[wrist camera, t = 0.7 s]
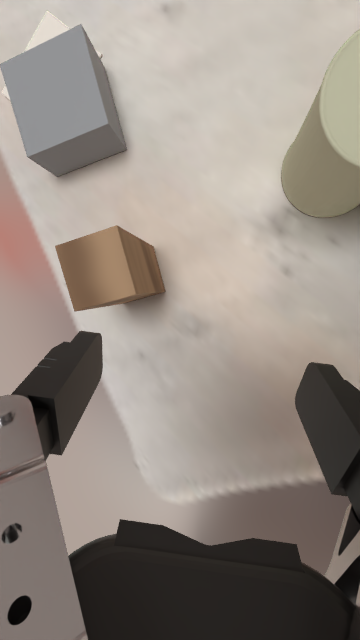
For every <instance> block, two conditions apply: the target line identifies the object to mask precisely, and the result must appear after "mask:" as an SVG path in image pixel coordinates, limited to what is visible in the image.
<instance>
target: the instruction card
mask: <svg viewBox="0 0 360 640" xmlns="http://www.w3.org/2000/svg"><path fill="white" fill-rule="evenodd" d="M68 30H70V28H69V27H67V26H66V25H65V24H64V23H62V22H61V21H60V20H59V19H57V18H56V17H55V16H54V15H53V14H51V13H50V12H49V11H48V10H47V11H46V13H45V15H44V16H43V18H42V20H41V22H40V24H39V26H38V27H37V29H36V31H35V33H34V35H33V36H32V38H31V40H30V42H29V44H28V45H27V47H26V49H25V51H24V52H26V51H28V50H30V49H32V48H34V47H36V46H38V45H40V44H42V43H44V42H46V41H48V40H50V39H52V38H54V37H56V36H58V35H60V34H62V33H64V32H66V31H68ZM95 51H96V52H97V54H98V56H99V58H101V57H102V54H100V53H99V52H98V51H97V50H96V49H95ZM1 93H2V94H3V95H4V96H6V97H7V98H8V99H9V100H10V97H9V94H8V91H7V87H6V85H5V87H4V89H3V91H2V92H1Z"/></svg>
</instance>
